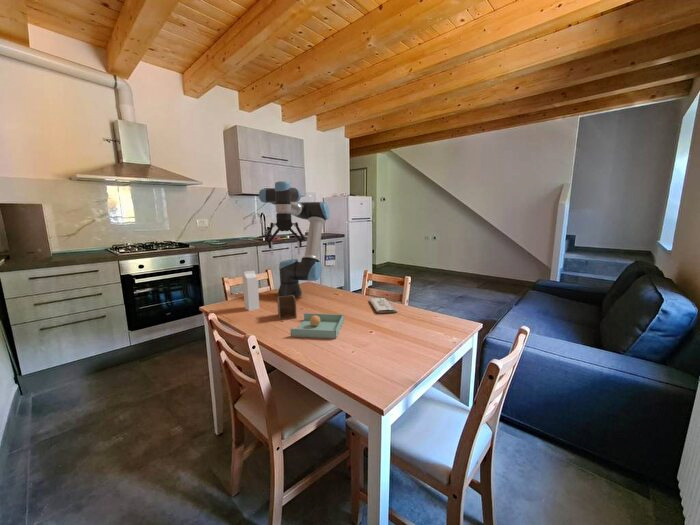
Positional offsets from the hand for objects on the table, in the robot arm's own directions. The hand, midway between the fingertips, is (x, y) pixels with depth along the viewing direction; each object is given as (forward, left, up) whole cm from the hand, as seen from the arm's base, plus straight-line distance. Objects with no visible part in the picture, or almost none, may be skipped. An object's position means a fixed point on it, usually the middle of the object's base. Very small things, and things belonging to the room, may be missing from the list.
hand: (285, 254), depth 149 cm
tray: (+20, +22, -32) cm, 43 cm away
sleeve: (+7, +2, -32) cm, 32 cm away
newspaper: (-15, +51, -32) cm, 62 cm away
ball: (+18, +20, -29) cm, 39 cm away
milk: (-2, -22, -32) cm, 39 cm away
